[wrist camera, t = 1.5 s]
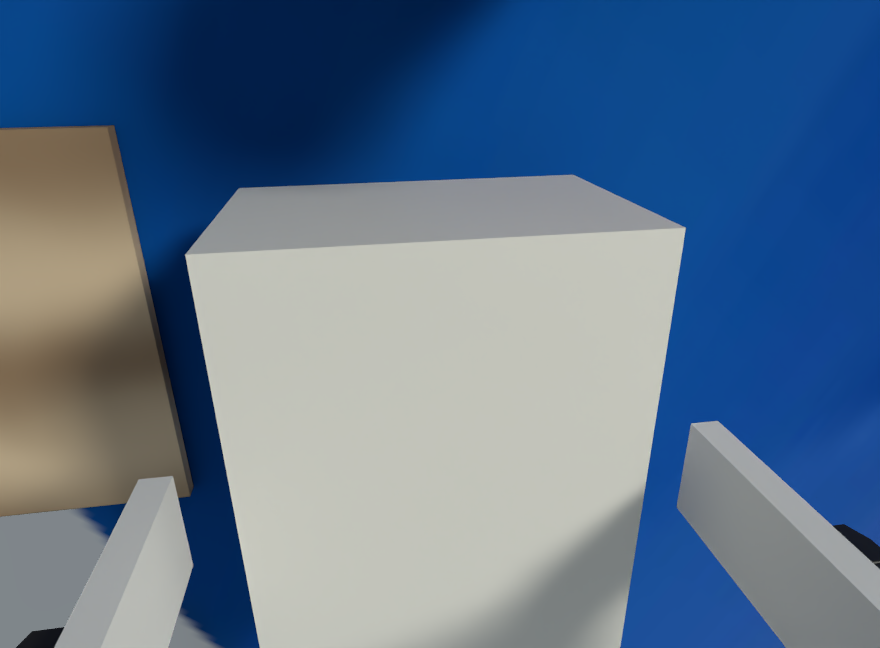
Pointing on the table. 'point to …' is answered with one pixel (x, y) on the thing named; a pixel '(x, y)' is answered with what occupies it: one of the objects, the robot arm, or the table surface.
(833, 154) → the table surface
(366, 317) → the lid
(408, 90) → the table surface
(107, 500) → the trivet
